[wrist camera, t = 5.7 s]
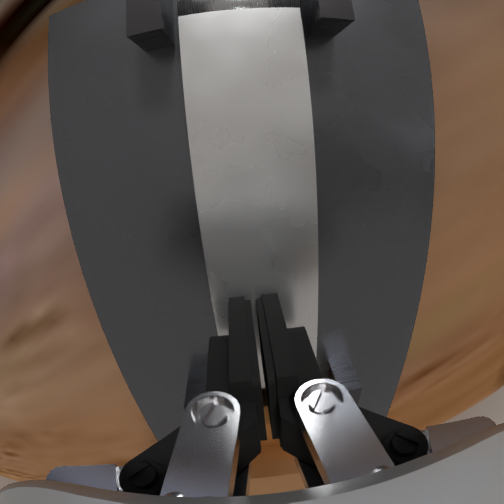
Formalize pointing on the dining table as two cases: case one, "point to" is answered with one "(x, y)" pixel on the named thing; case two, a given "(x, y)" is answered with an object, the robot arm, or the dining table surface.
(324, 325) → the plate
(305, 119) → the strap
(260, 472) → the block
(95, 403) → the dining table surface
